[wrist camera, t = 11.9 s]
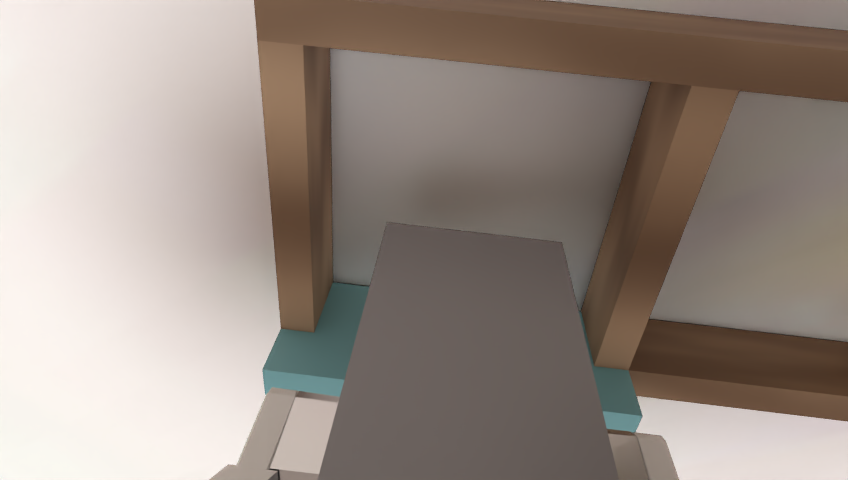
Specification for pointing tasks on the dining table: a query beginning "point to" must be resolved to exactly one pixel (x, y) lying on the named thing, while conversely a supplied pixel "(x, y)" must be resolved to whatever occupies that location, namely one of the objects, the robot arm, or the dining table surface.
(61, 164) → the dining table surface
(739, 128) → the dining table surface
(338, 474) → the tall grey block
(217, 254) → the dining table surface
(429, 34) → the rack
